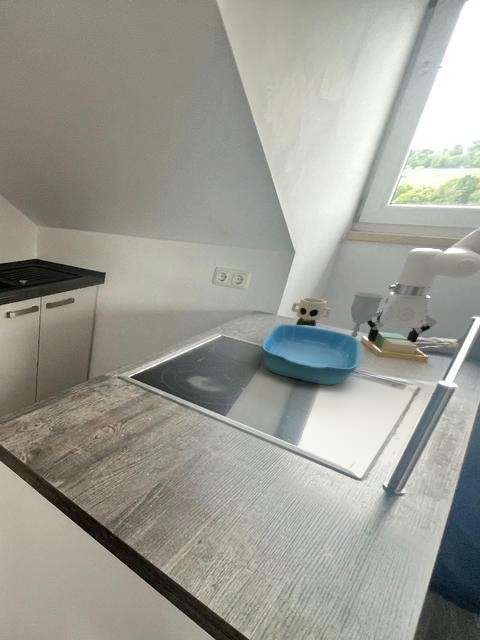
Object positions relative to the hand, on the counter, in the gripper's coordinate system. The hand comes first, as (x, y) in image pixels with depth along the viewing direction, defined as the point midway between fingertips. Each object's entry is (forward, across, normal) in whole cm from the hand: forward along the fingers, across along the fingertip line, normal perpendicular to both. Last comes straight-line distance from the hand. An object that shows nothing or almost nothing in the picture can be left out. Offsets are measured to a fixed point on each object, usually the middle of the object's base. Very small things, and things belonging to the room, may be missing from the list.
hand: (389, 342), depth 126 cm
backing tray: (+2, 0, -3) cm, 4 cm away
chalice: (+2, -11, -4) cm, 12 cm away
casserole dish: (+2, -27, -24) cm, 36 cm away
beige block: (+2, 0, -6) cm, 7 cm away
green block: (+2, 0, 0) cm, 2 cm away
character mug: (+2, -22, +5) cm, 23 cm away
